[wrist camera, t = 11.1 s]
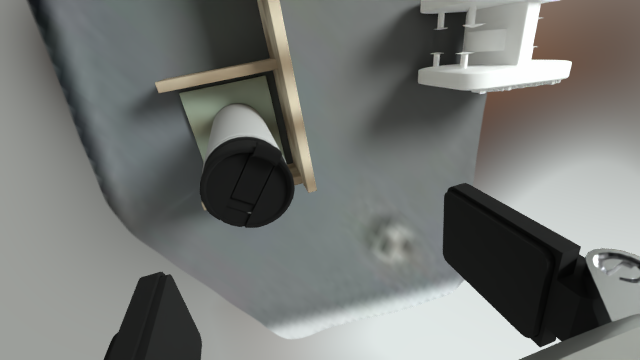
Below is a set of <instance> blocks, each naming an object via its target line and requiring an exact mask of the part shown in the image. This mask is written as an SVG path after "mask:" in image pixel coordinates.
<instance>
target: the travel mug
mask: <svg viewBox="0 0 640 360" xmlns="http://www.w3.org/2000/svg"><path fill="white" fill-rule="evenodd" d="M200 195H201V200H202V202H203V204H204V206H205V208H206V209H207V211H208V212H209V213H210V214H211V215H213V216H214V217H216V218H217V219H219V220H220V219H221V220H222V221H223V222H225V223H227V224H230V225H233V226H238V227H242V226H245V228H255V227H261V226H264V225H267V224H269V223H271V222H273V221H275V220H276V219H278V218H279V217H280V216H281V215H282V214H283V213H284V212H285V211H286V210H287V208H288V207H289V206H290V204H291V201H292V199H293V195H294V180H293V176H292V173H291V171H290V170H289V168H288V166H287V164H286V161H285V159H284V157H283V155H282V152H281V151H280V149H279V147H278V146H277V144H276V142H275V140H274V138H273V136H272V135H271V133H270V131H269V129H268V127H267V125H266V124H265V122H264V120H263V118H262V116H261V115H260V114H259V112H258V111H257V110H256V109H254V108H253V107H251V106H249V105H246V104H242V103H233V104H229V105H227V106H225V107H223V108H222V109H221V110H219V112H218V113H217V114H216V116H215V118H214V121H213V125H212V129H211V134H210V138H209V142H208V147H207V151H206V156H205V160H204V165H203V169H202V177H201V182H200Z"/></svg>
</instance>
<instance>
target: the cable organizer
mask: <svg viewBox="0 0 640 360" xmlns="http://www.w3.org/2000/svg"><path fill="white" fill-rule="evenodd" d="M552 1H558V0H421V7H420V12H421V13H424V14H437V13H438V25H437V29H435V30H442V29H446V28H444V17H445V13H454V12H467V14H466V23H465V25H463V26H465V32H464V42H463V51H462V52H461V53H456V54H461V60H460V64H452V65H442V66H439V61H440V54H442V53H439V52H436V53H431V54H434V60H433V67H426V68H422V69H420V70H418V83H419V84H424V85H430V86H437V87H444V88H450V89H457V90H472V92H475V93H479V94H484V93H485V92H492V91H504V90H511V89H514V88H524V87H531V86H538V85H545V84H554V83H560V80H561V79H565V78H567V77H569V73H570V68H571V64H572V62H570V61H565V60H531V57H532V51H533V47H534V46H533V42H534V37H535V32H536V26H537V21H538V19H540V18H538V16H539V11H540V5H541V3H546V2H552Z"/></svg>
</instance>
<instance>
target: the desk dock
mask: <svg viewBox="0 0 640 360" xmlns="http://www.w3.org/2000/svg"><path fill="white" fill-rule="evenodd" d="M257 3H258V8H259V12H260V16H261V21H262V25H263V30H264V34H265V39H266V43H267V48H268V52H269V56H270V59H265V60H259V61H254V62H249V63H244V64H239V65H234V66H229V67H224V68H219V69H214V70H208V71H203V72H198V73H193V74H188V75H183V76H178V77H173V78H168V79H163V80H161V81H158V82H155V84H156V87H157V90H158V92H159V93H162V92H167V91H172V90H177V89H182V88H187V87H192V86H197V85H202V84H207V83H212V82H216V81H221V80H226V79H231V78H236V77H241V76H246V75H251V74H256V73H261V72H266V71H270V70H273V74H274V79H275V83H276V88H277V92H278V97H279V101H280V105H281V110H282V114H283V119H284V123H285V128H286V132H287V137H288V141H289V145H290V150H291V154H292V159H293V163H291V164H287V166H288V168H289V170H290V171H291V173H292V176H293V180H294V185H298V184H301V183H303V184H304V186H305V188H306V189H307V191H308V193H310V192H313V191H317V189H316V184H315V179H314V174H313V169H312V163H311V158H310V153H309V148H308V143H307V138H306V133H305V128H304V123H303V118H302V113H301V108H300V103H299V98H298V93H297V88H296V83H295V77H294V72H293V67H292V62H291V57H290V52H289V47H288V42H287V37H286V32H285V27H284V22H283V17H282V12H281V7H280V2H279V0H257ZM179 95H180V98H181V100H182V103H183V106H184V109H185V112H186V114H187V117H188V120H189V123H190V125H191V128H192V131H193V134H194V137H195V139H196V142H197V145H198V148H199V150H200V153H201V156H202V159H203V162H204V160H205V156H206V151H207V147H208V142H209V138H210V134H211V129H212V125H213V121H214V118H215V116H216V114H217V113H218V112H219V110H221V109H222V108H223V107H225V106H227V105H229V104H233V103H242V104H246V105H249V106H251V107H253V108H254V109H256V110H257V111H258V112H259V114H260V115H261V116H262V118H263V120H264V122H265V124H266V125H267V127H268V129H269V131H270V133H271V135H272V136H273V138H274V140H275V142H276V144H277V146H278V147H279V149H280V151H281V152H282V155H283V157H284V159H285V156H284V151H283V147H282V143H281V139H280V134H279V130H278V126H277V122H276V117H275V113H274V109H273V105H272V101H271V96H270V92H269V88H268V84H267V79H266V76H260V77H255V78H251V79H246V80H241V81H236V82H231V83H226V84H221V85H217V86H212V87H207V88H202V89H197V90H192V91H187V92H183V93H179ZM285 161H286V160H285ZM202 206H203V208H204V210H207V209H206V208H205V206H204V204H203V202H202Z"/></svg>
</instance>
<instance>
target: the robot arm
mask: <svg viewBox="0 0 640 360" xmlns="http://www.w3.org/2000/svg"><path fill="white" fill-rule="evenodd" d="M580 248H581V247H580V246H579V245H577V244H575V243H573V242H572V241H570V240H568V239H566V238H564V237H563V236H561V235H559V234H557V233H555V232H553V231H552V230H550V229H548V228H546V227H545V226H543V225H541V224H539V223H537V222H536V221H534V220H532V219H530V218H528V217H527V216H525V215H523V214H521V213H519V212H518V211H516V210H514V209H512V208H510V207H509V206H507V205H505V204H503V203H501V202H500V201H498V200H496V199H494V198H492V197H491V196H489V195H487V194H485V193H483V192H482V191H480V190H478V189H476V188H474V187H473V186H471V185H469V184H467V183H463V184H460V185H456V186H453V187H450V188H449V189H448V191H447V193H445V196H444V227H443V255H444V258H445V260H446V261H447V263H448V264H449V265H451V266H452V267H453V268H454V269H455V270H456V271H457V272H458V273H459V274H460V275H461V276H462V277H463V278H464V279H465V280H466V281H467V282H468V283H469V284H470V285H471V286H472V287H473V288H474V289H475V290H476V291H477V292H478V293H479V294H480V295H482V296H483V297H484V298H485V299H486V300H487V301H488V302H489V303H490V304H491V305H492V306H493V307H494V308H495V309H496V310H497V311H498V312H499V313H500V314H501V315H502V316H503V317H504V318H505V319H506V320H507V321H508V322H509V323H510V324H511V325H512V326H514V327H515V328H516V329H517V330H518V331H519V332H520V333H521V334H522V335H523V336H525V337H527V338H531V339H532V340H533V341H534V342H535V343H536V344H537V345H538V346H539V347H542V346H545V345H547V344H549V343H552V342H554V341H555V340H556V337H557V338H558V339H559V340H561V341H562V342H560V343H558V344H555V345H553V346H550V347H548V348H546V349H543V350H541V351H538V352H536V353H534V354H531V355H529V356H527V357H524V358H522V359H519V360H640V257H639V256H637V255H635V254H631V253H628V252H625V251H621V250H615V249H595V250H592V251H590V252H588V254H587V255H586V257H585V258H584V257H583V256H581V255H579V251H580ZM201 348H202V341H201V337H200V333H199V332H198V329H197V327H196V325H195V323H194V321H193V319H192V317H191V315H190V313H189V310H188V308H187V306H186V304H185V302H184V300H183V298H182V296H181V294H180V292H179V290H178V288H177V286H176V283H175V282H174V279H173V278H172V276H171V275H170V274H169V275H165V274H164V273H163V272H158V273H155V274H152V275H148V276H145V277H141V278H140V279H139V281H138V284H137V286H136V289H135V291H134V294H133V296H132V299H131V302H130V304H129V307H128V309H127V312H126V314H125V317H124V319H123V322H122V324H121V327H120V330H119V332H118V333H117V334H116V335H115V336H114V337H113V339H112V341H111V343H110V345H109V348H108V350H107V353H106V355H105V358H104V360H201Z"/></svg>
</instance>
